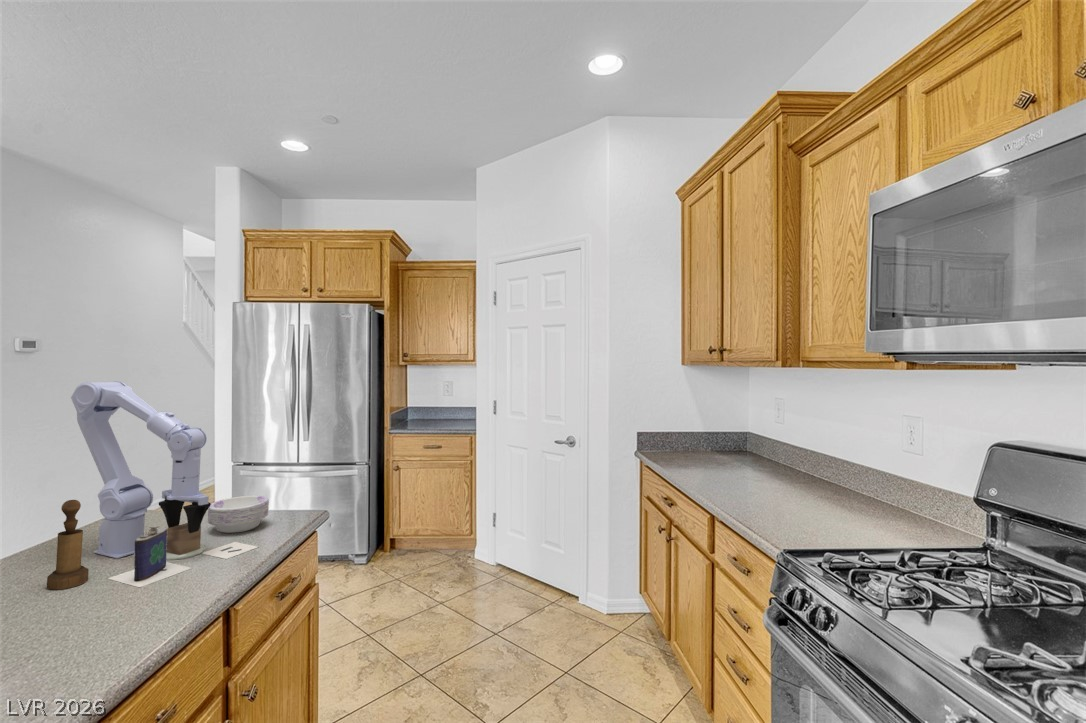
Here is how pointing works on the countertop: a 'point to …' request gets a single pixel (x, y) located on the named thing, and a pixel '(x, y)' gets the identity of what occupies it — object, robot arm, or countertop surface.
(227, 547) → the code tile
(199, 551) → the plate
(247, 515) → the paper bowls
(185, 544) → the walnut block
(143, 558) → the flask
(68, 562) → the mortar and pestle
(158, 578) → the code tile
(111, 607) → the countertop surface
